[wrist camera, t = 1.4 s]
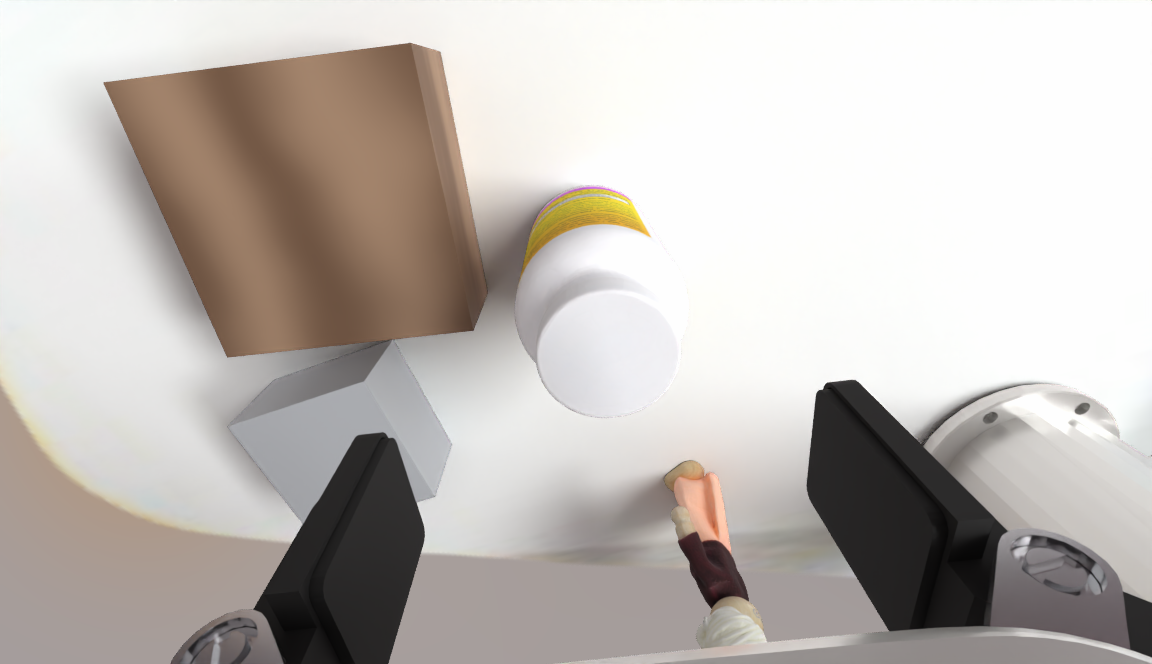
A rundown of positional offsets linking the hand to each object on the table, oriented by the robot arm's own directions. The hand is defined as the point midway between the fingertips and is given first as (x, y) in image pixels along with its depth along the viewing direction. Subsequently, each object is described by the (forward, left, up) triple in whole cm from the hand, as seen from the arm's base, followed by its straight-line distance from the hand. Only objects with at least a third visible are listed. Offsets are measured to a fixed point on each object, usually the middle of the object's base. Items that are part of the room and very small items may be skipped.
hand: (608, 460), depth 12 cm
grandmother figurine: (-5, +17, -18) cm, 26 cm away
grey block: (+15, +9, -18) cm, 25 cm away
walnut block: (+12, -4, -18) cm, 22 cm away
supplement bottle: (0, 0, -18) cm, 18 cm away
